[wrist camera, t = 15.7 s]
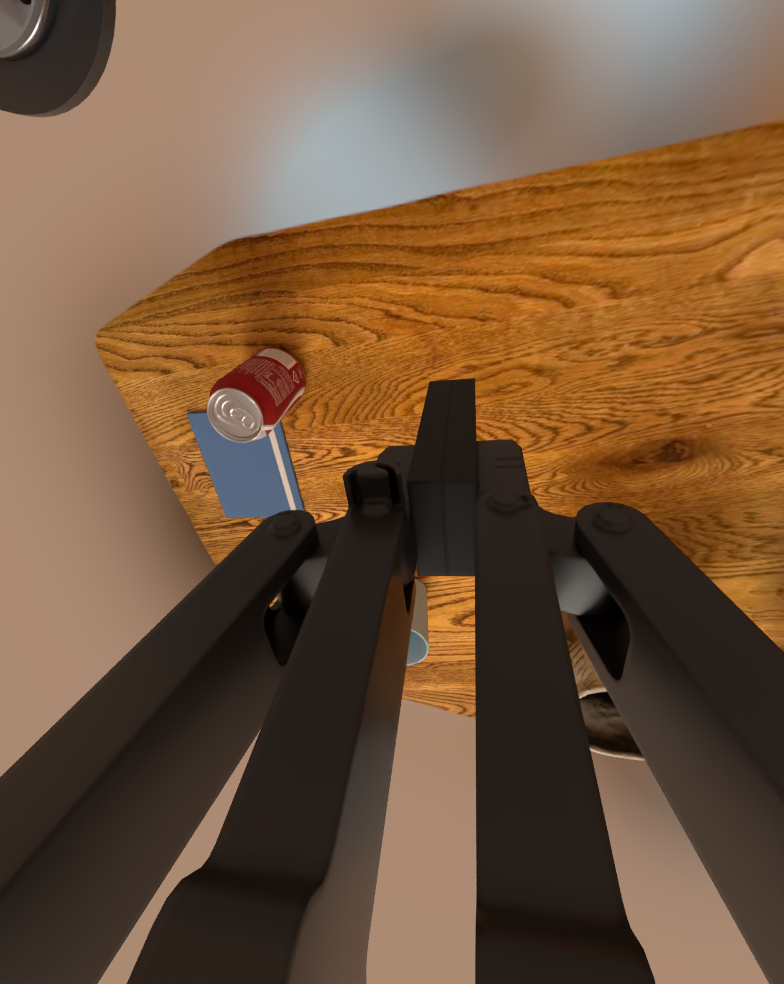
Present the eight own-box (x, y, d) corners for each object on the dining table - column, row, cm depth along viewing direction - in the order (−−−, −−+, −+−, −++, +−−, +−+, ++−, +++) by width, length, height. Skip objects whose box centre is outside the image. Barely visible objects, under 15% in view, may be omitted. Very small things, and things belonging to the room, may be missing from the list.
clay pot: (651, 656, 68) (709, 802, 51) (511, 626, 69) (523, 761, 52) (726, 551, 57) (833, 697, 40) (557, 518, 58) (591, 647, 41)
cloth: (188, 412, 57) (186, 414, 57) (277, 407, 55) (275, 408, 55) (227, 516, 66) (226, 518, 65) (306, 515, 63) (305, 517, 63)
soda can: (266, 333, 50) (215, 366, 40) (318, 370, 52) (281, 410, 42) (242, 380, 54) (190, 422, 44) (291, 413, 55) (251, 461, 45)
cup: (418, 564, 65) (409, 620, 56) (443, 599, 68) (439, 657, 60) (374, 579, 68) (360, 635, 59) (400, 612, 71) (390, 670, 62)
